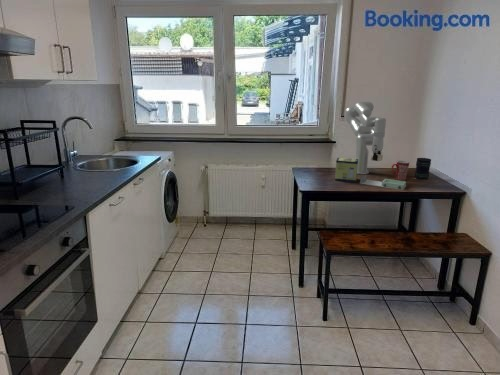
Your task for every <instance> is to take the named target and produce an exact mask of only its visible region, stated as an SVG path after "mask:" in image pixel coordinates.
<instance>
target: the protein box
mask: <svg viewBox="0 0 500 375" xmlns="http://www.w3.org/2000/svg"><path fill="white" fill-rule="evenodd" d="M357 169H358V159H356V158H347V157H337V159H336V161H335V175H334V176H335V177H334V181H336V182H337V181H339V182H348V183H349V182H351V183H357V179H358V174H357Z"/></svg>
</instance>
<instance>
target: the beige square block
mask: <svg viewBox="0 0 500 375" xmlns="http://www.w3.org/2000/svg"><path fill="white" fill-rule="evenodd" d="M377 155H378V158H377V160H373V154H371V156H370V161H372V162H373V161H375V162H382V161H383V159H384V158H383V156H384V154H381V155H380V154H377Z"/></svg>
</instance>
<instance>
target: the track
mask: <svg viewBox="0 0 500 375" xmlns="http://www.w3.org/2000/svg"><path fill="white" fill-rule="evenodd" d="M359 184H360V185H366V186H374V187H380V188H381V187H382V188H386V189H392V190H399V191H404V190H405V188H406V187H407V185H405V187H404V188H403V189H401V188H400V189H399V188H394V187H388V186H381V185H382V181H379V180H372V179H371V180H370V179H367V174H363V176H361V177H360V180H359Z"/></svg>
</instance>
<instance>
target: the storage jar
mask: <svg viewBox="0 0 500 375" xmlns="http://www.w3.org/2000/svg"><path fill="white" fill-rule="evenodd" d="M431 162H432V159H431V158H427V157H417V158H416V164H415V166H416V167H415V171H414V179H415V178H416V180H420V181H424V180H425V181H427V180H429V176H430V170H431V168H430V167H431V164H432V163H431Z"/></svg>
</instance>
